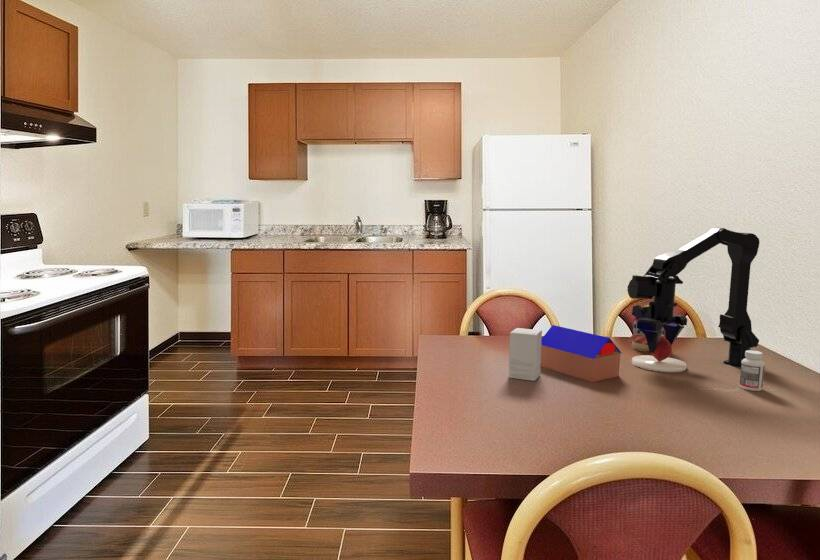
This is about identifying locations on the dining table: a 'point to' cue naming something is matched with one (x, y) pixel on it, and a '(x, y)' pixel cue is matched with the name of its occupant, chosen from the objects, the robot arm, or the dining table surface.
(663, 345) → the onion
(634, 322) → the cake
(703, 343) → the dining table surface
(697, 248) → the robot arm
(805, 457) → the dining table surface
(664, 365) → the plate
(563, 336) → the house
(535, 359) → the supplement box
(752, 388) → the pill bottle
